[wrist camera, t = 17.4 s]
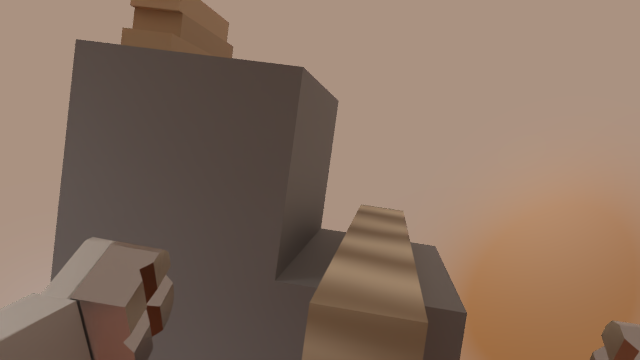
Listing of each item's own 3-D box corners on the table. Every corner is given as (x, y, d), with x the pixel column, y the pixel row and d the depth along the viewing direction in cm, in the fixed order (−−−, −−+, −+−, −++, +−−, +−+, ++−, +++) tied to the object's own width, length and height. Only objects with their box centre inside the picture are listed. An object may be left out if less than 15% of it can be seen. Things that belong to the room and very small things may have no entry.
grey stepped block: (405, 700, 24) (516, -1, 22) (16, 603, 26) (84, -46, 24) (399, 481, 40) (463, 62, 38) (157, 432, 42) (206, 32, 40)
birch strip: (416, 400, 14) (428, 323, 14) (298, 378, 14) (309, 302, 14) (399, 238, 40) (403, 210, 40) (357, 232, 40) (361, 204, 40)
